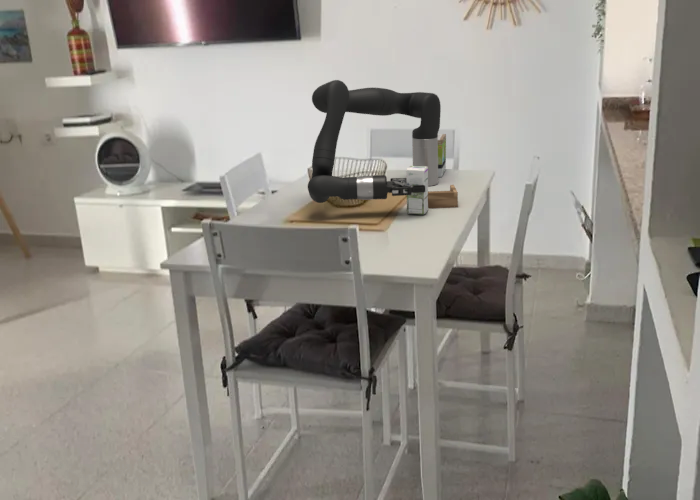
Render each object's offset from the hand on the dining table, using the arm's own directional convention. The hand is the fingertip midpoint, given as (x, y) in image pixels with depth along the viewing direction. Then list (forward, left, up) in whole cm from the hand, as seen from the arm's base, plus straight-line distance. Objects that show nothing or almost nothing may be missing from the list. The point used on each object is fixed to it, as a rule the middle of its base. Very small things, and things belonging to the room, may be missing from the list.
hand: (424, 185), depth 234 cm
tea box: (-60, +8, -9) cm, 61 cm away
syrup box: (0, -2, -9) cm, 9 cm away
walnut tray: (-11, +6, -9) cm, 16 cm away
